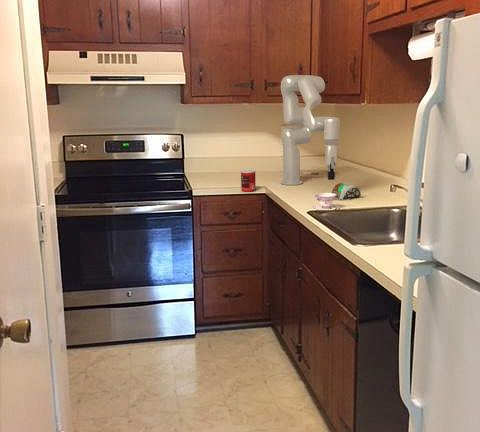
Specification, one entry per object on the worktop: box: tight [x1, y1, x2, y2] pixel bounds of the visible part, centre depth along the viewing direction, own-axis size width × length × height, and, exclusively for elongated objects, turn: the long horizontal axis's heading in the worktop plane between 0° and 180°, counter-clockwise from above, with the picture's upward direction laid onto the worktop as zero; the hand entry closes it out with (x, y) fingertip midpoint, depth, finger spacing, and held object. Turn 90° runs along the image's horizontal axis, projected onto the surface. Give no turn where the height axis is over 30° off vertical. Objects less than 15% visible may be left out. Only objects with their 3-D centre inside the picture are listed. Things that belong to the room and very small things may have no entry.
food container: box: [331, 182, 362, 199], centre depth 264 cm, size 12×6×10 cm
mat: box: [314, 194, 352, 201], centre depth 265 cm, size 12×16×1 cm
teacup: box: [312, 192, 341, 211], centre depth 243 cm, size 12×12×6 cm
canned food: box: [240, 169, 256, 193], centre depth 287 cm, size 8×8×11 cm
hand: (331, 179), depth 271 cm, fingers closed
